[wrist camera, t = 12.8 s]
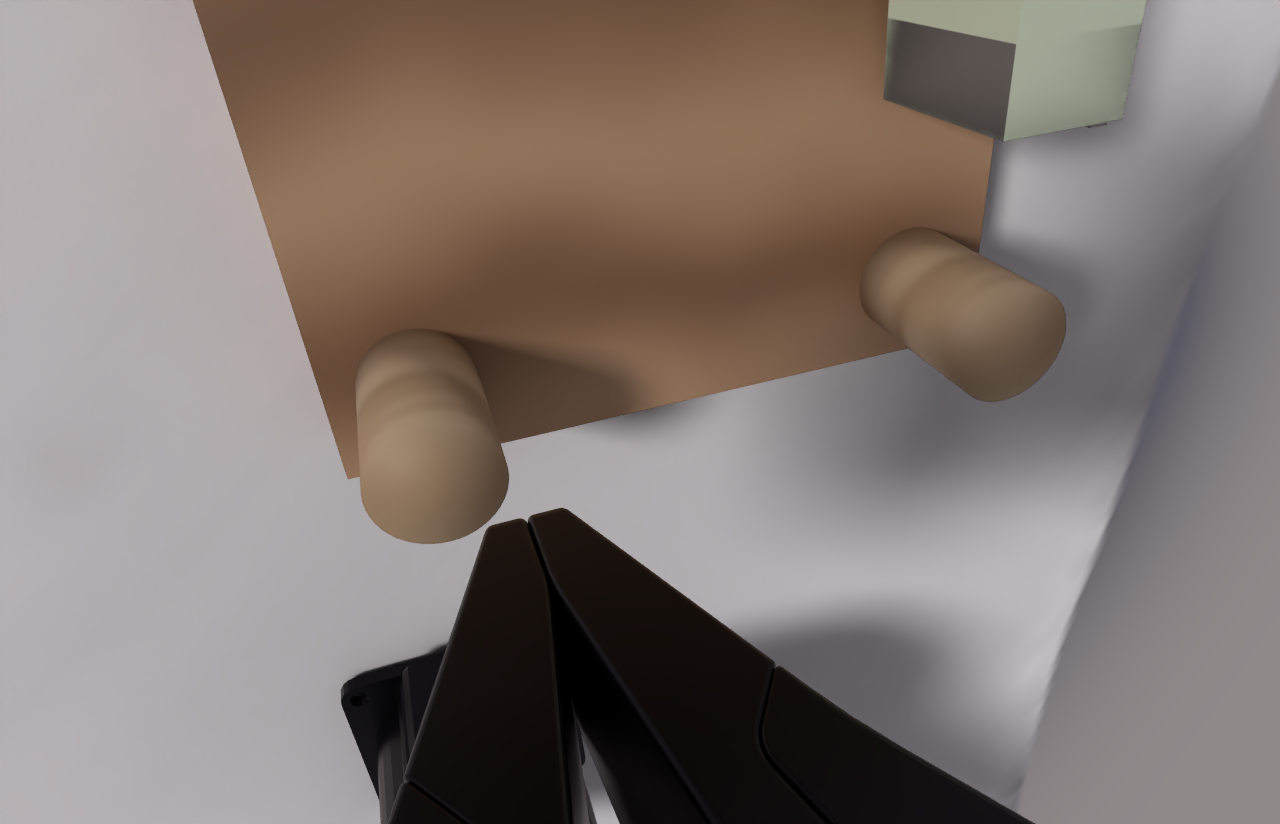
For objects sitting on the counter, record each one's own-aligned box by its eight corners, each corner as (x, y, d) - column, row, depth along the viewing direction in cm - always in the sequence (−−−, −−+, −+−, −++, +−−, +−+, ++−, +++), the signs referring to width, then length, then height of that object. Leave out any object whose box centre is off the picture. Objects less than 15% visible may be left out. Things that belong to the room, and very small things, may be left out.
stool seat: (932, 303, 24) (1084, 404, 20) (346, 434, 21) (351, 597, 16) (1034, -644, 15) (1380, -912, 10) (-5, -685, 12) (-255, -1121, 7)
